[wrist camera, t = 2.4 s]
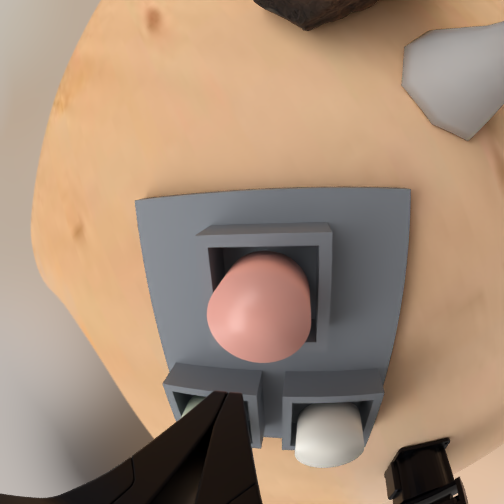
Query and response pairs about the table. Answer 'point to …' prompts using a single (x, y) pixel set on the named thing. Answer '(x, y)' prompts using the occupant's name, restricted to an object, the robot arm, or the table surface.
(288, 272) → the button coral
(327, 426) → the button ivory
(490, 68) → the flask
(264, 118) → the table surface
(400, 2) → the table surface
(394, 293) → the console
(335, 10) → the decorative rock
